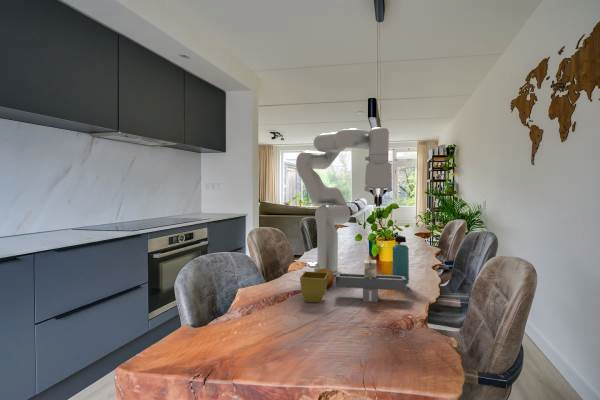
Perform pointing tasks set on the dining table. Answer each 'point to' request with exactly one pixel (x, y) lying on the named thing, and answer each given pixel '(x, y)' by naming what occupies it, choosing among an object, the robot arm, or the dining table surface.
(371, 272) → the rider
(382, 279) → the beam
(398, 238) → the beverage bottle
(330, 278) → the fruit
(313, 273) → the flower pot
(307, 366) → the dining table surface
